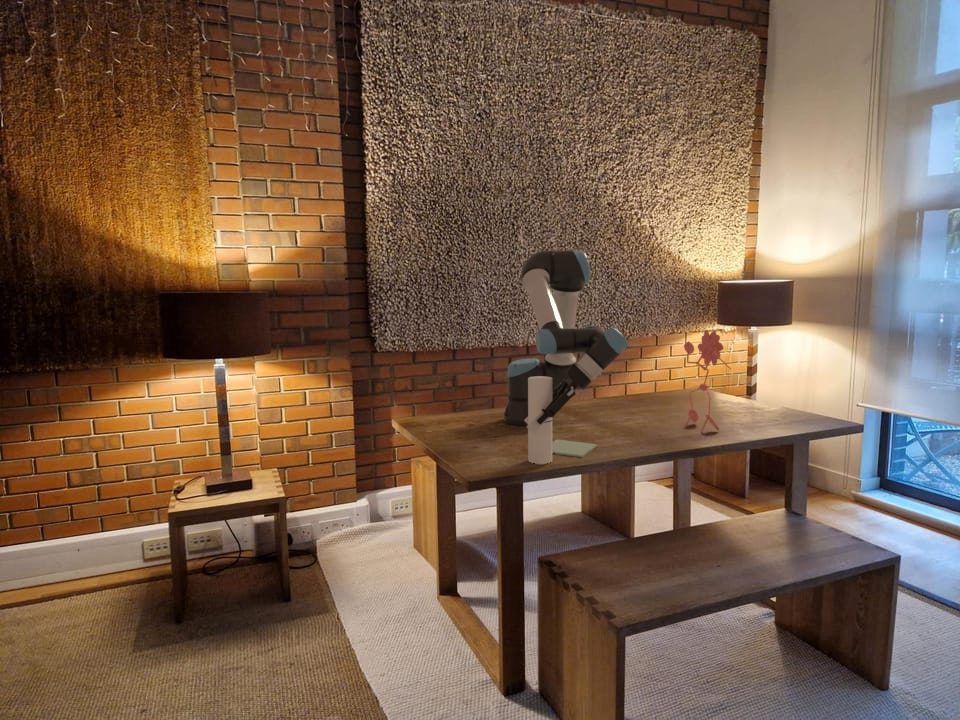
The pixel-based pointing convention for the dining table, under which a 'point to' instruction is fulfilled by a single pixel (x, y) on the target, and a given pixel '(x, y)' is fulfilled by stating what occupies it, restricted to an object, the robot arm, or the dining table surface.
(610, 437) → the dining table surface
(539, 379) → the cylindrical container
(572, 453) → the rubber mat
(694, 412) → the figurine
